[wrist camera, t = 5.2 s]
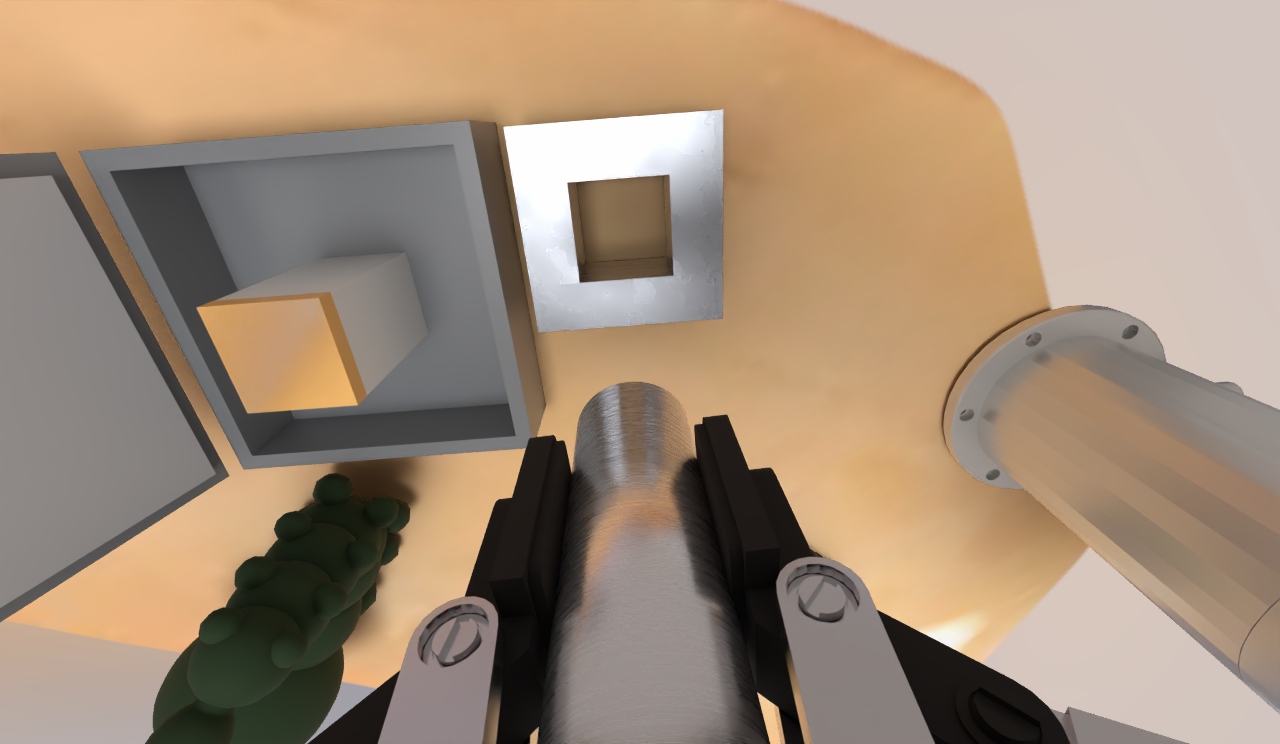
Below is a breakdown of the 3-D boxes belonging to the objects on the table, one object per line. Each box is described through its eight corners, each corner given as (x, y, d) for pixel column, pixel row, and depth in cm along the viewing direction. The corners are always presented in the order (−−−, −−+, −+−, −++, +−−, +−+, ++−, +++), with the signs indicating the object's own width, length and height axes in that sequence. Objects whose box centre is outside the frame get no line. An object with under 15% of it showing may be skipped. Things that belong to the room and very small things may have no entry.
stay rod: (684, 375, 13) (858, 982, 4) (691, 469, 14) (833, 1086, 5) (568, 389, 13) (452, 1024, 4) (587, 481, 14) (535, 1118, 5)
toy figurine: (337, 399, 32) (213, 649, 38) (10, 674, 14) (-115, 1049, 21) (472, 463, 34) (334, 688, 41) (338, 766, 16) (133, 1075, 23)
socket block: (708, 113, 24) (723, 109, 20) (709, 294, 28) (722, 318, 24) (521, 128, 24) (503, 126, 20) (549, 306, 28) (538, 332, 24)
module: (405, 251, 25) (318, 298, 18) (428, 333, 27) (357, 405, 20) (318, 258, 25) (196, 307, 18) (347, 340, 27) (247, 413, 20)
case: (495, 123, 24) (468, 120, 19) (545, 405, 30) (533, 447, 26) (172, 148, 24) (78, 151, 20) (294, 424, 30) (243, 469, 26)
